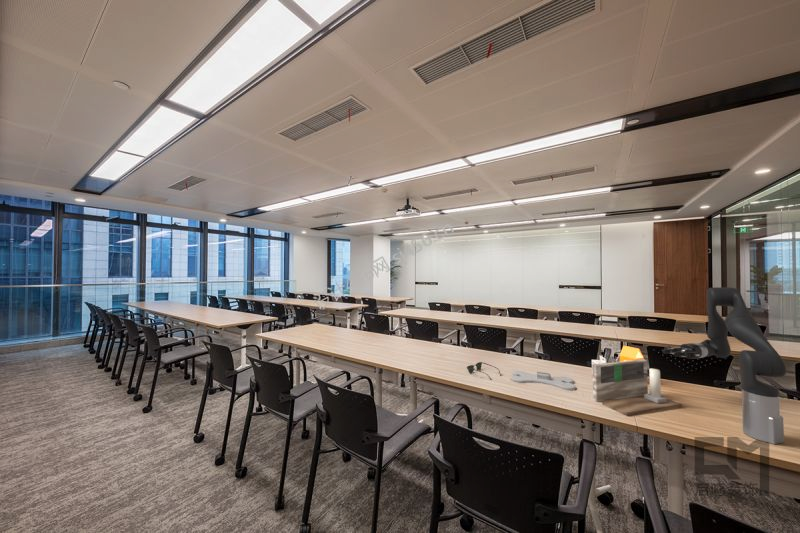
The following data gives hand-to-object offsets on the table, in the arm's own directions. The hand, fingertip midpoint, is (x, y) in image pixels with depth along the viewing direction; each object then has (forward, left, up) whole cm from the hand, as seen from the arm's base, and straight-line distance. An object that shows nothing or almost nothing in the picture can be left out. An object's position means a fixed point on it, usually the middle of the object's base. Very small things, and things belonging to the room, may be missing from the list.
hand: (669, 353), depth 145 cm
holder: (+40, +42, -25) cm, 63 cm away
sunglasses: (+58, +69, -25) cm, 94 cm away
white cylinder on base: (+2, +10, -22) cm, 25 cm away
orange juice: (+26, -10, -24) cm, 37 cm away
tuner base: (+3, +19, -24) cm, 31 cm away
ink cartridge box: (+30, +10, -24) cm, 40 cm away
